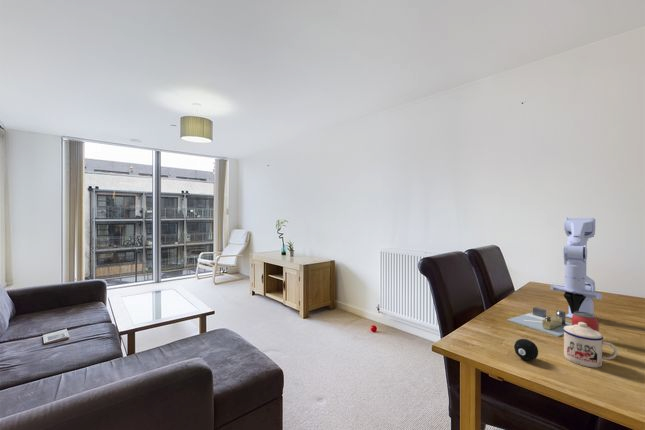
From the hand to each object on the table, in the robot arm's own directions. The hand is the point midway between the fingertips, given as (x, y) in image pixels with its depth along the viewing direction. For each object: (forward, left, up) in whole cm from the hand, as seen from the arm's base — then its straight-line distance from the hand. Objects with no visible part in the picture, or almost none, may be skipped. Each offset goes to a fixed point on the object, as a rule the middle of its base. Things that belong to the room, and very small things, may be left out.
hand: (574, 313), depth 105 cm
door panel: (-2, -11, -8) cm, 14 cm away
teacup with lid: (+21, +11, -8) cm, 25 cm away
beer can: (+12, +7, -8) cm, 16 cm away
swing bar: (0, -7, -7) cm, 10 cm away
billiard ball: (+36, +1, -8) cm, 37 cm away
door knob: (-7, -7, -8) cm, 13 cm away
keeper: (-10, -16, -8) cm, 21 cm away
